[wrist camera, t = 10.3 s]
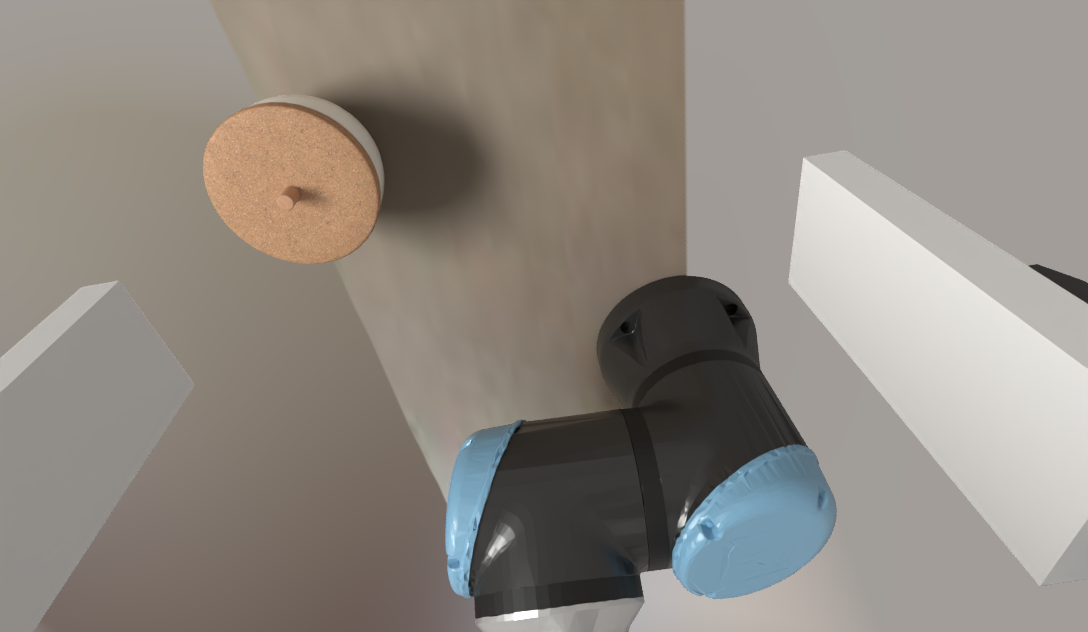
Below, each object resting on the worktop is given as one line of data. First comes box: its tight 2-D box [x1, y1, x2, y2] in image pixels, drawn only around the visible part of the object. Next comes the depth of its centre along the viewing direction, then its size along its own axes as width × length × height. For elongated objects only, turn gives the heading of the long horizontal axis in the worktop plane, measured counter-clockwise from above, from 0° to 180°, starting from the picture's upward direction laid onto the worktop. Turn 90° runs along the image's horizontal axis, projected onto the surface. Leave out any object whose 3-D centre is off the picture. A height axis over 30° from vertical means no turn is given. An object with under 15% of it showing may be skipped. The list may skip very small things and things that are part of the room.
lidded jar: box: [203, 95, 384, 264], centre depth 38 cm, size 11×11×9 cm
